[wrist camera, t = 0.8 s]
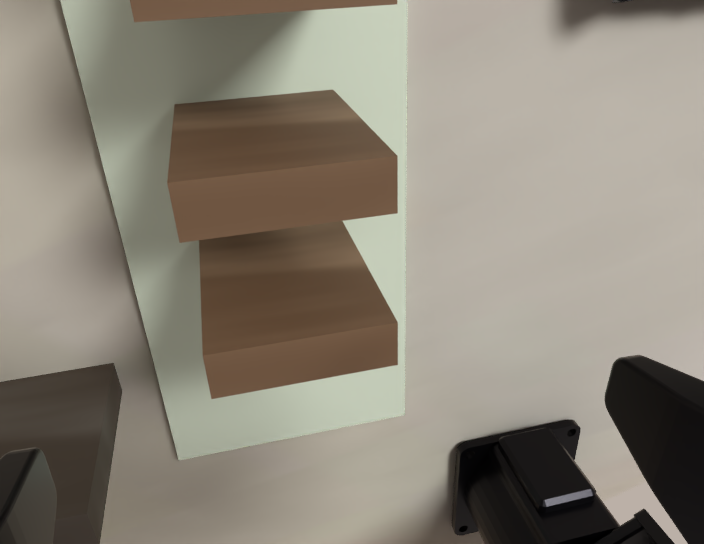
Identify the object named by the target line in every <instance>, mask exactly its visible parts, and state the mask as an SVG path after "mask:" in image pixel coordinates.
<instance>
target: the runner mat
mask: <svg viewBox="0 0 704 544" xmlns="http://www.w3.org/2000/svg"><path fill="white" fill-rule="evenodd" d="M60 2H61V6H62V10H63V13H64V17H65V21H66V25H67V29H68V33H69V37H70V41H71V45H72V48H73V52H74V56H75V60H76V64H77V68H78V72H79V76H80V79H81V83H82V87H83V91H84V95H85V99H86V103H87V107H88V110H89V114H90V118H91V122H92V126H93V130H94V134H95V138H96V141H97V145H98V149H99V153H100V157H101V161H102V165H103V169H104V172H105V176H106V180H107V184H108V188H109V192H110V196H111V200H112V204H113V207H114V211H115V215H116V219H117V223H118V227H119V231H120V235H121V238H122V242H123V246H124V250H125V254H126V258H127V262H128V266H129V269H130V273H131V277H132V281H133V285H134V289H135V293H136V297H137V300H138V304H139V308H140V312H141V316H142V320H143V324H144V328H145V332H146V335H147V339H148V343H149V347H150V351H151V355H152V359H153V363H154V366H155V370H156V374H157V378H158V382H159V386H160V390H161V394H162V397H163V401H164V405H165V409H166V413H167V417H168V421H169V425H170V428H171V432H172V436H173V440H174V444H175V448H176V452H177V456H178V460H179V461H180V460H185V459H190V458H195V457H200V456H204V455H209V454H214V453H219V452H224V451H229V450H234V449H239V448H244V447H249V446H254V445H259V444H264V443H269V442H274V441H279V440H284V439H289V438H294V437H299V436H304V435H309V434H314V433H319V432H324V431H329V430H334V429H339V428H344V427H349V426H353V425H358V424H363V423H368V422H373V421H378V420H383V419H388V418H393V417H398V416H403V415H405V316H406V156H407V0H397V4H395V5H380V6H366V7H351V8H336V9H322V10H307V11H293V12H278V13H263V14H249V15H234V16H220V17H205V18H190V19H176V20H161V21H147V22H134V19H133V14H132V9H131V4H130V0H60ZM322 90H334V91H335V92H336V93H337V94H338V95H339V96H340V97H341V98H342V99H343V100H344V101H345V102H346V103H347V104H348V105H349V106H350V107H351V108H352V109H353V110H354V111H355V112H356V114H357V115H358V116H359V117H360V118H361V119H362V120H363V121H364V122H365V123H366V124H367V125H368V126H369V127H370V128H371V129H372V130H373V131H374V132H375V133H376V134H377V135H378V136H379V137H380V138H381V139H382V140H383V141H384V142H385V143H386V144H387V145H388V146H389V148H390V149H391V150H392V151H393V152H394V153H395V154H396V155H397V156H398V213H397V214H389V215H382V216H374V217H367V218H360V219H352V220H345V221H343V223H344V225H345V227H346V229H347V230H348V232H349V234H350V236H351V238H352V240H353V241H354V243H355V245H356V247H357V249H358V251H359V252H360V254H361V256H362V258H363V260H364V261H365V263H366V265H367V267H368V269H369V271H370V272H371V274H372V276H373V278H374V280H375V282H376V283H377V285H378V287H379V289H380V291H381V293H382V294H383V296H384V298H385V300H386V302H387V304H388V305H389V307H390V309H391V311H392V313H393V315H394V316H395V318H396V320H397V322H398V365H395V366H389V367H384V368H378V369H373V370H368V371H362V372H357V373H351V374H346V375H340V376H335V377H330V378H324V379H319V380H313V381H308V382H303V383H297V384H292V385H286V386H281V387H276V388H270V389H265V390H259V391H254V392H248V393H243V394H238V395H232V396H227V397H221V398H216V399H211V394H210V390H209V385H208V380H207V375H206V370H205V365H204V360H203V353H202V321H201V289H200V257H199V240H198V241H190V242H183V243H179V238H178V233H177V228H176V224H175V219H174V214H173V209H172V204H171V199H170V194H169V189H168V185H167V179H168V168H169V158H170V147H171V136H172V125H173V115H174V104H184V103H194V102H205V101H216V100H226V99H237V98H248V97H258V96H269V95H279V94H290V93H301V92H311V91H322Z"/></svg>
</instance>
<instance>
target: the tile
mask: <svg viewBox="0 0 704 544" xmlns="http://www.w3.org/2000/svg"><path fill="white" fill-rule="evenodd" d="M121 395H122V389H121V386H120V383H119V379H118V376H117V373H116V369H115V366H114V363H111V364H105V365H99V366H93V367H87V368H81V369H75V370H69V371H63V372H57V373H51V374H46V375H40V376H34V377H28V378H22V379H16V380H10V381H4V382H0V458H1V457H2V456H3V455H5V454H6V453H8V452H10V451H14V450H21V449H27V448H34V447H36V448H39V449H41V450H42V452H43V453H44V455H45V458H46V461H47V464H48V467H49V470H50V473H51V476H52V479H53V482H54V485H55V488H56V494H57V507H56V516H55V525H54V535H53V544H99V543H100V537H101V530H102V523H103V517H104V510H105V503H106V496H107V490H108V483H109V476H110V469H111V463H112V456H113V449H114V442H115V436H116V429H117V422H118V415H119V409H120V402H121Z"/></svg>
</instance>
